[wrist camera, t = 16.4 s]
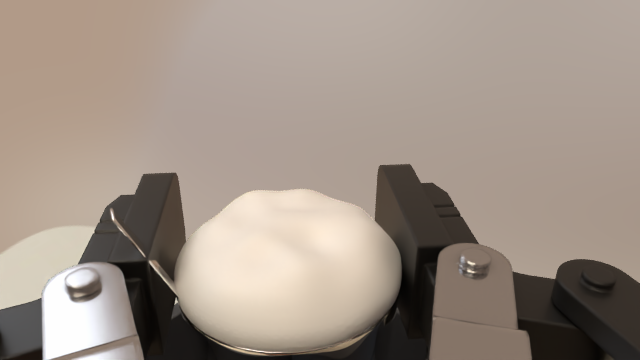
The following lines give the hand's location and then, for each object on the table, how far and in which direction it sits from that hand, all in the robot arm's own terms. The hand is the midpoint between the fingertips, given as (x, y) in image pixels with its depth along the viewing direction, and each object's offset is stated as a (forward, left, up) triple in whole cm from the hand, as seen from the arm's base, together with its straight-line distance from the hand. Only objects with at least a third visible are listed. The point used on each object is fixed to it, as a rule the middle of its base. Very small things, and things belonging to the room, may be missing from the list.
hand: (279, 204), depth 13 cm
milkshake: (+2, -2, -8) cm, 9 cm away
